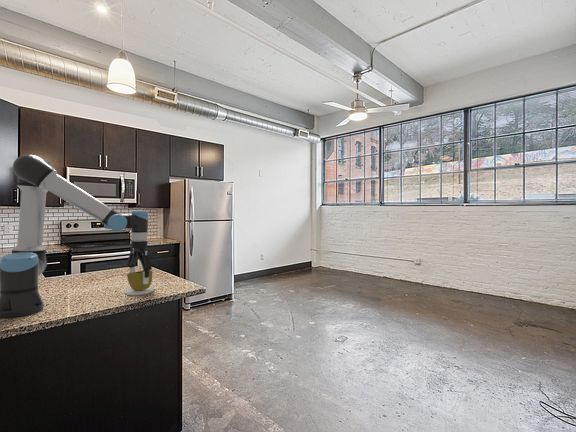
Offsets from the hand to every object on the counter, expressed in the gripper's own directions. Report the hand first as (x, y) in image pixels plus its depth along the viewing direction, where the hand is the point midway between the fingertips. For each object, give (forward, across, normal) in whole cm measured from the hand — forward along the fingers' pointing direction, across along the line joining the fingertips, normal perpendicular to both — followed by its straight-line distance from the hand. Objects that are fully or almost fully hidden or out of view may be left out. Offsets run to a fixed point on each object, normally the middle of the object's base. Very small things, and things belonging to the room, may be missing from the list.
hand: (138, 281), depth 157 cm
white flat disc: (+5, 0, 0) cm, 5 cm away
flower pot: (+4, -2, 0) cm, 4 cm away
